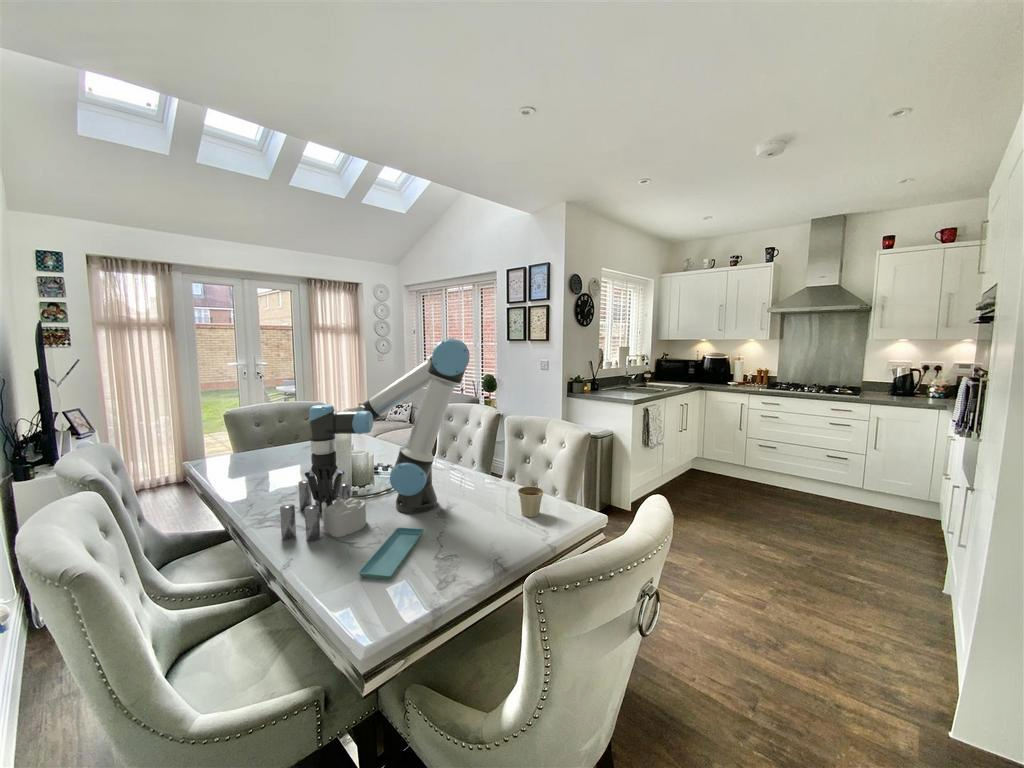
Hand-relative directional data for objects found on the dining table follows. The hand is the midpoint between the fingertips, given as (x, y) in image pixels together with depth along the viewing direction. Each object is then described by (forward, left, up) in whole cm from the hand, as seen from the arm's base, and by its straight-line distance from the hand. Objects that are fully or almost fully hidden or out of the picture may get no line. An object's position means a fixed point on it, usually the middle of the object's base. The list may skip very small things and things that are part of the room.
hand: (326, 519), depth 140 cm
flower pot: (-68, -14, -2) cm, 70 cm away
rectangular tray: (-30, +18, -2) cm, 35 cm away
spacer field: (+7, -1, -1) cm, 7 cm away
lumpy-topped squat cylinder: (-8, +2, -2) cm, 8 cm away
